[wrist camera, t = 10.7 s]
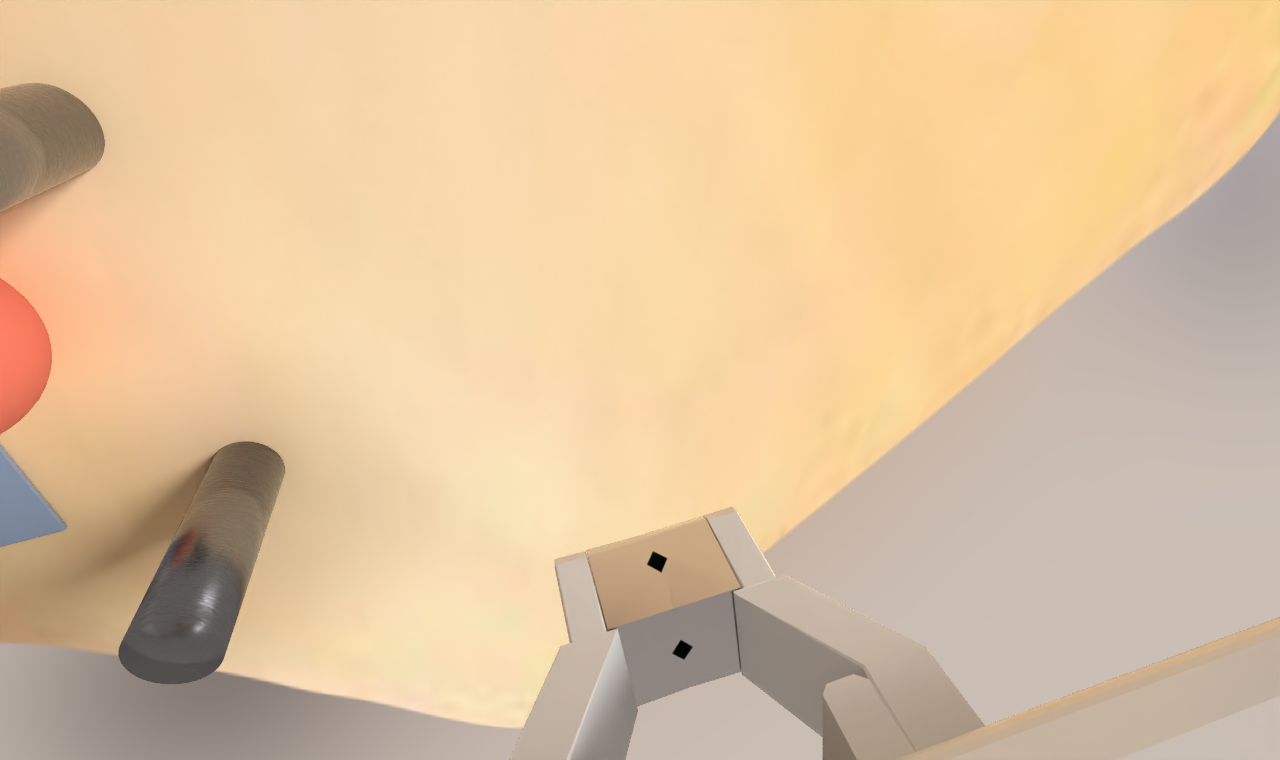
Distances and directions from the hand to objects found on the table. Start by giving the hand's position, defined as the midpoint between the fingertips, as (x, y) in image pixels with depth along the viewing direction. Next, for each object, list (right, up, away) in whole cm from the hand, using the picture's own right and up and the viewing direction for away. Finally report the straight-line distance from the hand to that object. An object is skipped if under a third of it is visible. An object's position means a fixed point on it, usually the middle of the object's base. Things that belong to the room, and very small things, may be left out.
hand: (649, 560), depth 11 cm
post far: (-16, -1, +16) cm, 23 cm away
